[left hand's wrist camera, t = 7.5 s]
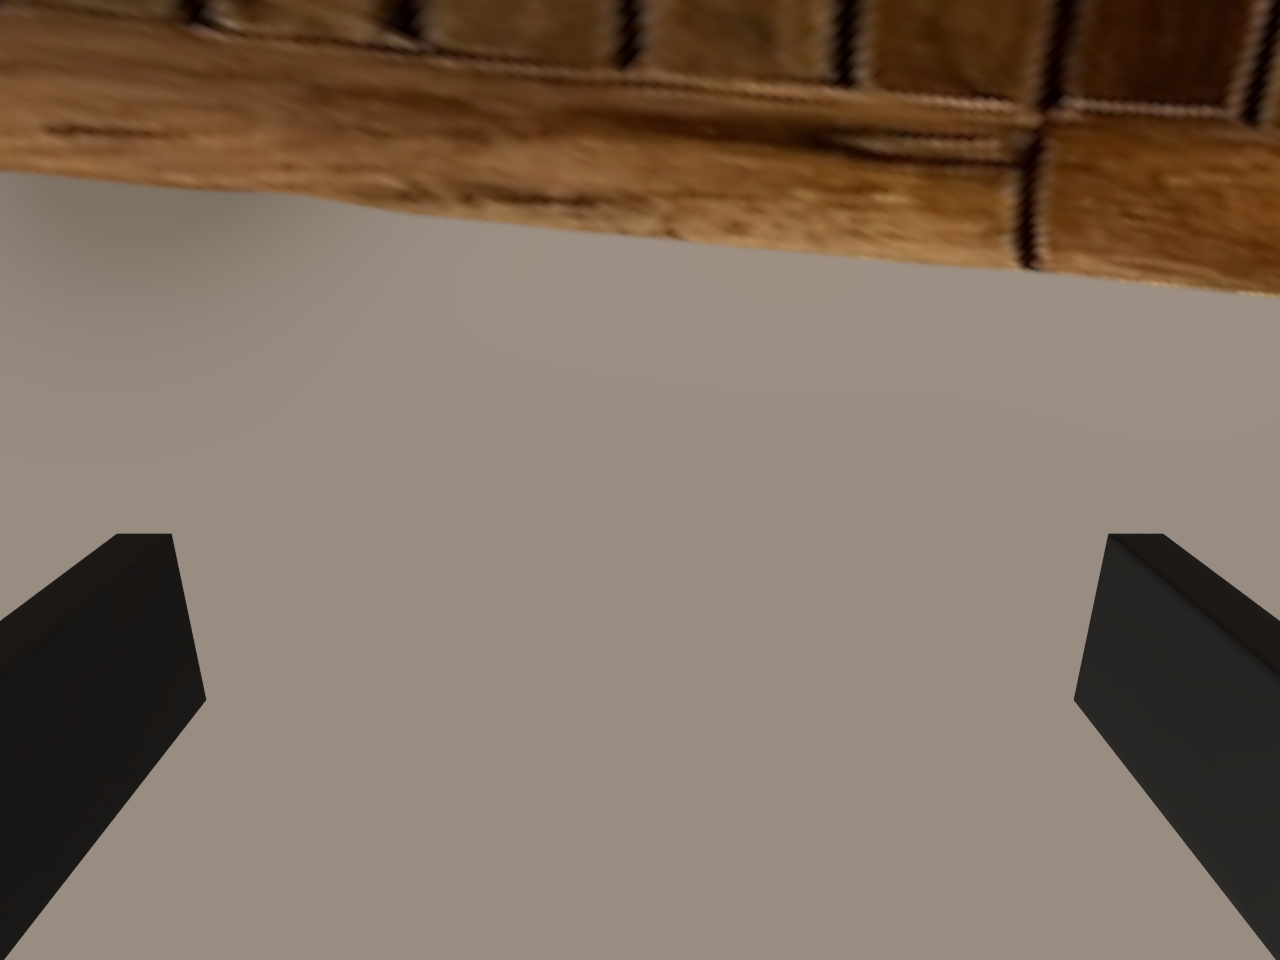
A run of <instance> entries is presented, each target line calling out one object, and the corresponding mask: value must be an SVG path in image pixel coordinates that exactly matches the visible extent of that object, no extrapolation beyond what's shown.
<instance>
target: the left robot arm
mask: <svg viewBox="0 0 1280 960" xmlns="http://www.w3.org/2000/svg"><path fill="white" fill-rule="evenodd" d="M205 701H206V696H205V691H204V687H203V682H202V677H201V672H200V668H199V663H198V658H197V653H196V648H195V643H194V639H193V634H192V629H191V624H190V620H189V615H188V610H187V605H186V601H185V596H184V591H183V586H182V581H181V576H180V572H179V567H178V562H177V557H176V552H175V548H174V543H173V538H172V534H116V535H115V536H113V537H112V538H111V539H109V540H108V541H107V542H105V543H104V544H103V545H101V546H100V547H99V548H97V549H96V550H95V551H93V552H92V553H90V554H89V555H88V556H86V557H85V558H84V559H82V560H81V561H80V562H78V563H77V564H76V565H74V566H73V567H72V568H70V569H69V570H68V571H66V572H65V573H64V574H62V575H61V576H60V577H58V578H57V579H56V580H54V581H53V582H52V583H50V584H49V585H48V586H46V587H45V588H44V589H42V590H41V591H40V592H38V593H37V594H36V595H34V596H33V597H32V598H30V599H29V600H28V601H26V602H25V603H24V604H22V605H21V606H20V607H18V608H17V609H16V610H14V611H13V612H12V613H10V614H9V615H8V616H6V617H5V618H4V619H2V620H1V621H0V960H4V959H5V958H6V957H7V955H8V954H9V953H10V951H11V950H12V949H13V948H14V946H15V945H16V944H17V942H18V941H19V940H20V939H21V937H22V936H23V935H24V933H25V932H26V931H27V930H28V928H29V927H30V926H31V924H32V923H33V922H34V921H35V919H36V918H37V917H38V915H39V914H40V913H41V912H42V910H43V909H44V908H45V906H46V905H47V904H48V903H49V901H50V900H51V899H52V897H53V896H54V895H55V894H56V892H57V891H58V890H59V888H60V887H61V886H62V885H63V883H64V882H65V881H66V879H67V878H68V877H69V876H70V874H71V873H72V872H73V870H74V869H75V868H76V867H77V865H78V864H79V863H80V861H81V860H82V859H83V858H84V856H85V855H86V854H87V852H88V851H89V850H90V849H91V847H92V846H93V845H94V843H95V842H96V841H97V840H98V838H99V837H100V836H101V835H102V833H103V832H104V831H105V829H106V828H107V827H108V825H109V824H110V823H111V822H112V820H113V819H114V818H115V817H116V815H117V814H118V813H119V811H120V810H121V809H122V808H123V806H124V805H125V804H126V802H127V801H128V800H129V798H130V797H131V796H132V795H133V793H134V792H135V791H136V789H137V788H138V787H139V786H140V784H141V783H142V782H143V781H144V779H145V778H146V777H147V775H148V774H149V773H150V772H151V770H152V769H153V768H154V766H155V765H156V764H157V763H158V761H159V760H160V759H161V757H162V756H163V755H164V754H165V752H166V751H167V750H168V748H169V747H170V746H171V745H172V743H173V742H174V741H175V739H176V738H177V737H178V736H179V734H180V733H181V732H182V730H183V729H184V728H185V727H186V725H187V724H188V723H189V721H190V720H191V719H192V718H193V716H194V715H195V714H196V712H197V711H198V710H199V709H200V707H201V706H202V705H203V703H204V702H205ZM1074 701H1075V702H1076V703H1077V705H1078V706H1079V707H1080V709H1081V710H1082V711H1083V712H1084V714H1085V715H1086V716H1087V718H1088V719H1089V720H1090V721H1091V723H1092V724H1093V725H1094V727H1095V728H1096V729H1097V730H1098V732H1099V733H1100V734H1101V736H1102V737H1103V738H1104V739H1105V741H1106V742H1107V743H1108V744H1109V746H1110V747H1111V748H1112V750H1113V751H1114V752H1115V754H1116V755H1117V756H1118V757H1119V759H1120V760H1121V761H1122V763H1123V764H1124V765H1125V766H1126V768H1127V769H1128V770H1129V772H1130V773H1131V774H1132V775H1133V777H1134V778H1135V779H1136V781H1137V782H1138V783H1139V784H1140V786H1141V787H1142V788H1143V790H1144V791H1145V792H1146V793H1147V795H1148V796H1149V797H1150V798H1151V800H1152V801H1153V802H1154V804H1155V805H1156V806H1157V808H1158V809H1159V810H1160V811H1161V813H1162V814H1163V815H1164V816H1165V818H1166V819H1167V820H1168V822H1169V823H1170V824H1171V826H1172V827H1173V828H1174V829H1175V831H1176V832H1177V833H1178V834H1179V836H1180V837H1181V838H1182V840H1183V841H1184V842H1185V843H1186V845H1187V846H1188V847H1189V849H1190V850H1191V851H1192V852H1193V854H1194V855H1195V856H1196V858H1197V859H1198V860H1199V861H1200V863H1201V864H1202V865H1203V867H1204V868H1205V869H1206V870H1207V872H1208V873H1209V874H1210V876H1211V877H1212V878H1213V879H1214V881H1215V882H1216V883H1217V885H1218V886H1219V887H1220V888H1221V890H1222V891H1223V892H1224V894H1225V895H1226V896H1227V897H1228V899H1229V900H1230V901H1231V903H1232V904H1233V905H1234V906H1235V908H1236V909H1237V910H1238V912H1239V913H1240V914H1241V915H1242V917H1243V918H1244V919H1245V920H1246V922H1247V923H1248V924H1249V926H1250V927H1251V928H1252V930H1253V931H1254V932H1255V933H1256V935H1257V936H1258V937H1259V939H1260V940H1261V941H1262V942H1263V944H1264V945H1265V946H1266V948H1267V949H1268V950H1269V951H1270V953H1271V954H1272V955H1273V956H1274V958H1275V959H1276V960H1280V621H1279V620H1278V619H1276V618H1275V617H1274V616H1272V615H1271V614H1270V613H1268V612H1267V611H1266V610H1264V609H1263V608H1262V607H1260V606H1259V605H1258V604H1256V603H1255V602H1254V601H1252V600H1251V599H1250V598H1248V597H1247V596H1246V595H1244V594H1243V593H1242V592H1240V591H1239V590H1238V589H1236V588H1235V587H1234V586H1232V585H1231V584H1230V583H1228V582H1227V581H1226V580H1224V579H1223V578H1222V577H1220V576H1219V575H1218V574H1216V573H1215V572H1214V571H1212V570H1211V569H1210V568H1208V567H1207V566H1206V565H1204V564H1203V563H1202V562H1200V561H1199V560H1198V559H1196V558H1195V557H1194V556H1192V555H1191V554H1190V553H1188V552H1187V551H1186V550H1184V549H1183V548H1181V547H1180V546H1179V545H1177V544H1176V543H1175V542H1173V541H1172V540H1171V539H1169V538H1168V537H1167V536H1165V535H1164V534H1108V538H1107V543H1106V548H1105V552H1104V557H1103V562H1102V567H1101V572H1100V576H1099V581H1098V586H1097V591H1096V596H1095V600H1094V605H1093V610H1092V615H1091V620H1090V624H1089V629H1088V634H1087V639H1086V643H1085V648H1084V653H1083V658H1082V663H1081V667H1080V672H1079V677H1078V682H1077V687H1076V691H1075V696H1074Z"/></svg>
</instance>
